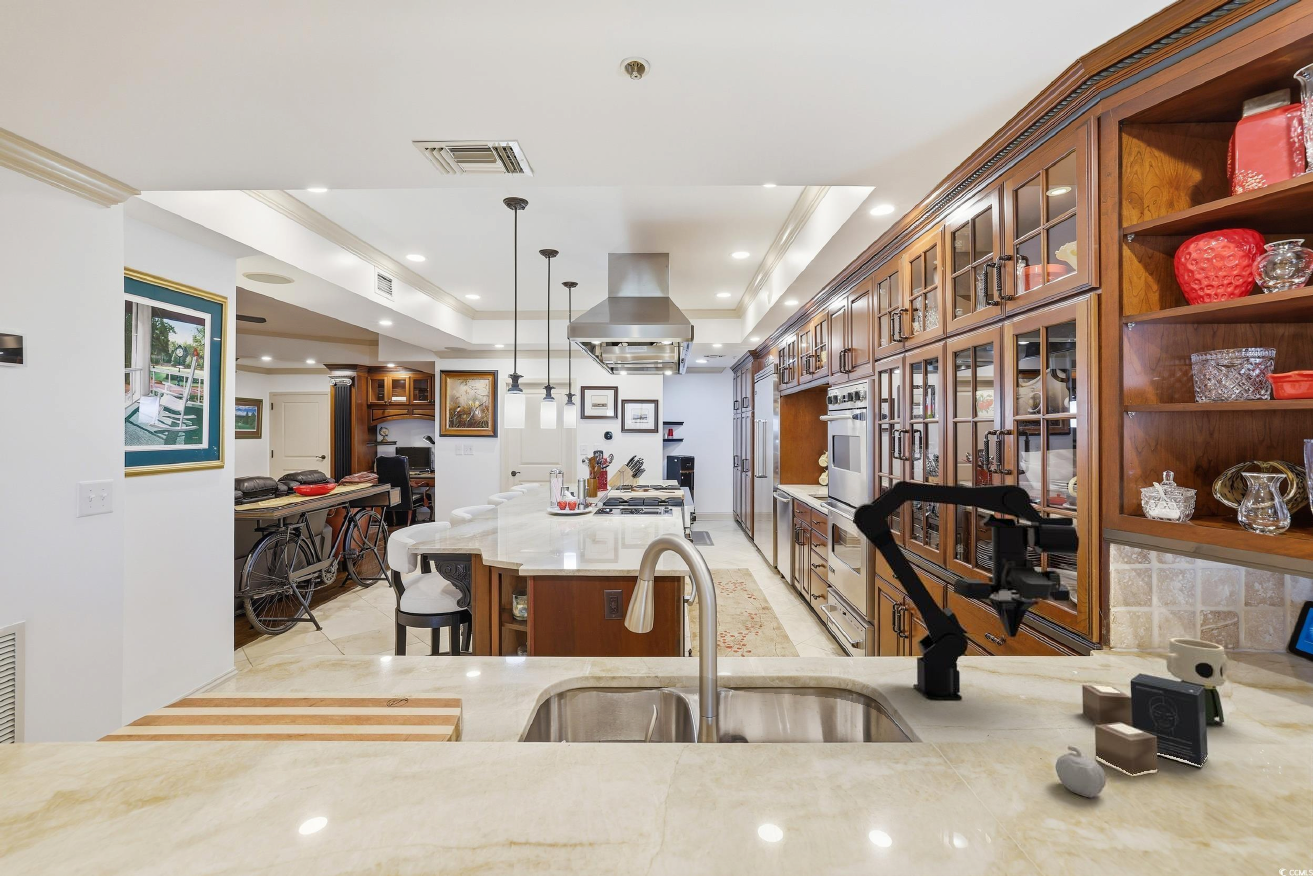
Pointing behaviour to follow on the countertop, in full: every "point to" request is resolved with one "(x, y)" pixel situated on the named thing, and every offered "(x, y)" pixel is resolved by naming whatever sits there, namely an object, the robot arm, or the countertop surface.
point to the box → (1171, 716)
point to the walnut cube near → (1126, 747)
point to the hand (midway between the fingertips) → (1011, 636)
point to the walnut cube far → (1106, 705)
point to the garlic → (1080, 773)
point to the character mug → (1200, 670)
